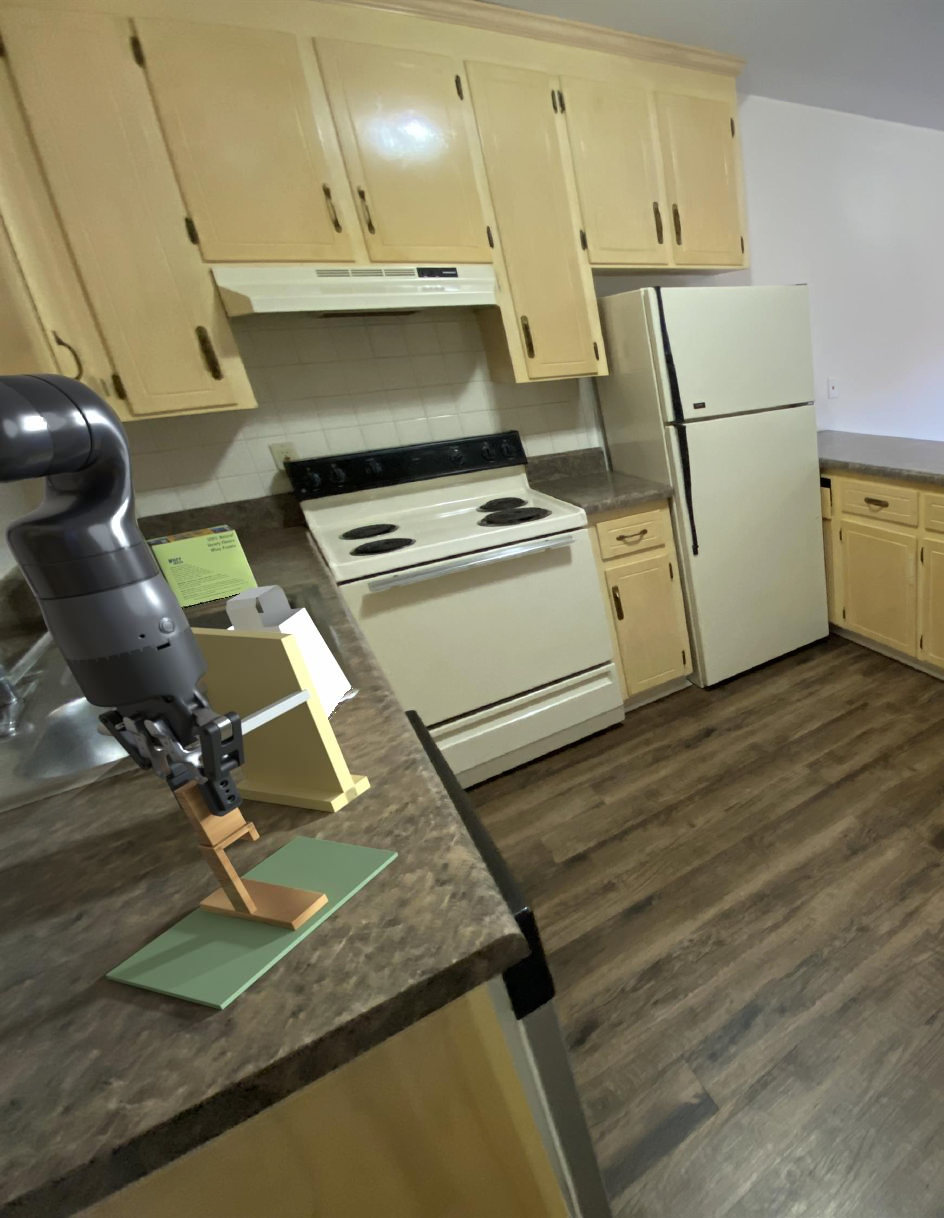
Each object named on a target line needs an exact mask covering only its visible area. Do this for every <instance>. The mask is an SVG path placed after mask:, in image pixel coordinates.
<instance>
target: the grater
mask: <svg viewBox="0 0 944 1218" xmlns="http://www.w3.org/2000/svg"><path fill="white" fill-rule="evenodd" d="M257 600H258V602H259V605H260V607H261V609H262V611H263V612H258V610H257V607H256V606H257ZM225 612H226V613H227V614H226V615H227V617H228V618H229V621H230V623H231V625H232V626H230V627H228V628H226V630H242V631H258V632H275V633H291V634H294V636H295V638H296V641H297V643H298V646H299V648H300V651H301V653H302V656H303V658H304V661H305V663H306V666H307V668H308V671H309V673H310V676H311V678H312V681H313V683H314V686H315V688H316V691H317V693H318V696H319V698H320V701H321V703H322V706H323V708H324V711H325V713H326V716H327V718H328V717H329V716H330V714H331V713H332V711H334V709H335V707H336V706H337V705H338V703H339V702H340V699H341V698H342V697H343V696H344V694H345V693H346V692H347V691H349V690H350V689H351V687H352V686H351V684H350V682H349V681H348V679H347V677H346V676H345V673H344V672H343V670H342V669H341V666H340V665H339V664H338V662H337V660H336V659H335V657H334V655H333V653H332V652H331V650H330V649H329V647H328V645H327V644H326V642H325V640H324V638H323V637H322V635H321V634H320V632H319V630H318V628H317V626H316V625H315V623H314V622H313V620H312V618H311V616H310V615H309V613H308V611H307V610H306V608H305V607H297V608H291V605H290V603H289V601H288V598H287V596H286V593H285V591H284V588H282V587H281V586H280V585H278V584H273V585H272V584H271V585H265V586H258V587H255V588H249V589H247V590H246V591H244V592H242V593H240V594H239V595H236V596H232V597H231V598H230V599H228V600H226V605H225Z"/></svg>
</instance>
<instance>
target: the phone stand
mask: <svg viewBox="0 0 944 1218" xmlns="http://www.w3.org/2000/svg"><path fill="white" fill-rule="evenodd" d="M196 784H197V782H196V781H195V780H192V781H190V782H189V783H187V784H185V785H184V786H182V787H180V788H178V789H177V790H175V791H174V794H175V796H176V797H177V799H178V801H179V803H180V804H181V806H182V808H183V809H184V810H183V812H184V813H185V815H186V816H187V817H188V818H187V819H188V820H189V821H190V823H191V825H192V827H193V828H194V830H195V832H196V834H197V835H198V837H199V839H200V840H201V843H200V844H198V845H197V848H198V849H199V851H200V852H201V854H202V856H203V858H204V860H205V861H206V863H207V864H208V866H209V868H210V869H211V872H212V873H213V875H214V877H215V878H216V880H217V882H218V883H219V885H220V887H219V888H217V889H216V890H214V891H213V892H212V893H210V894H209V895H208V896H207V897H205V898H204V899H202V900H201V901H200V902H199V903H198V905H199V907H201V908H202V910H203V911H207V912H211V913H216V914H221V915H225V916H230V917H235V918H239V919H244V920H248V921H253V922H258V923H262V924H267V925H272V926H276V927H281V928H286V929H290V930H297V929H298V928H299V927H300V926H301V925H302V924H303V923H305V922H306V921H307V920H308V919H309V918H310V917H311V916H312V915H314V914H315V913H316V912H317V911H318V910H319V909H320V908H321V907H323V906H324V905H325V904H326V903H327V902H328V899H327V897H326V895H325V894H322V893H317V892H312V891H306V890H301V889H296V888H291V887H286V886H281V885H275V884H270V883H265V882H260V881H255V880H250V879H244V878H240V876H239V875H238V873H237V872H236V870H235V868H234V866H233V864H232V863H231V861H230V859H229V858H228V856H227V854H226V852H225V851H224V849H225V848H227V847H228V846H229V845H231V844H232V843H234V842H235V841H236V840H238V839H239V840H245V841H250V842H255V841H257V840H258V839H260V835H259V833H258V831H257V829H256V827H255V825H254V823H253V822H252V821H246V820H245V818H244V817H243V815H242V812H241V811H240V809H239V807H237V808H236V809H234V810H233V811H231V812H229V813H228V814H226V815H225V816H222V817H219V816H213V815H212V814H211V812H210V810H209V808H208V807H207V805H206V803H205V801H204V799H203V797H202V795H201V793H200V791H199V789H198V787H197V785H196ZM174 794H173V795H174ZM175 796H174V797H175Z"/></svg>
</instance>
